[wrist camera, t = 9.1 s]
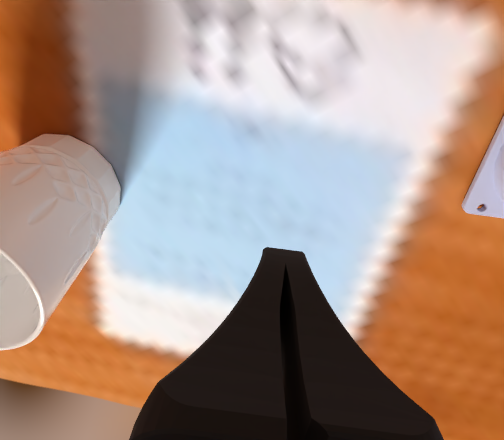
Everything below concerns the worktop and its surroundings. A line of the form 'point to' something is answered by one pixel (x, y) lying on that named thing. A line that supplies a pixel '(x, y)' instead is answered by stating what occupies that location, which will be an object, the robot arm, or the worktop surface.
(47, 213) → the white cup
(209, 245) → the worktop surface
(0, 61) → the worktop surface
